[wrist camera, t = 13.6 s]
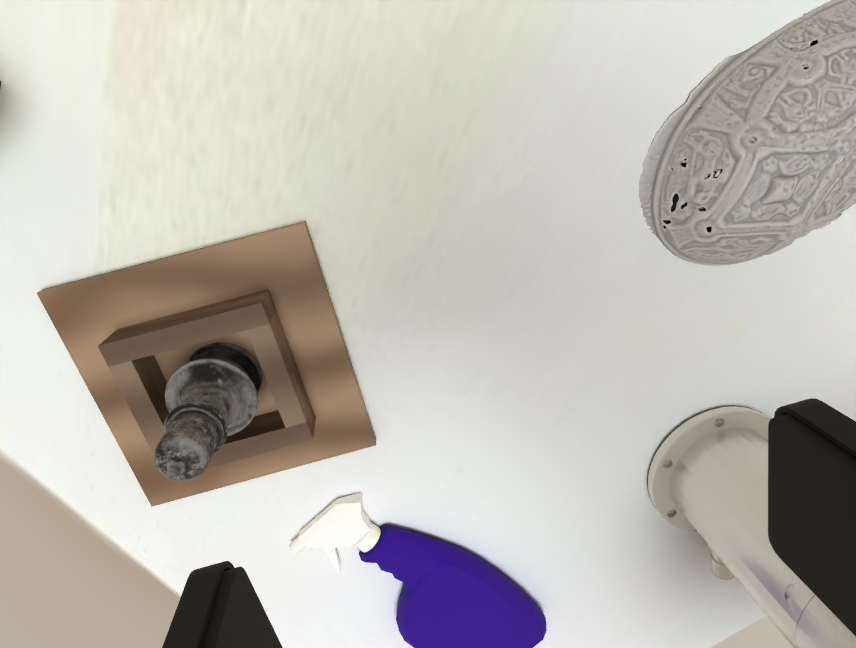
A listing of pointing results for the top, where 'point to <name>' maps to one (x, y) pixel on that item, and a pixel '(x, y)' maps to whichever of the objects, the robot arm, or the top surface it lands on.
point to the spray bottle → (431, 583)
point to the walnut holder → (209, 323)
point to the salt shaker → (206, 408)
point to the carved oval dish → (760, 145)
